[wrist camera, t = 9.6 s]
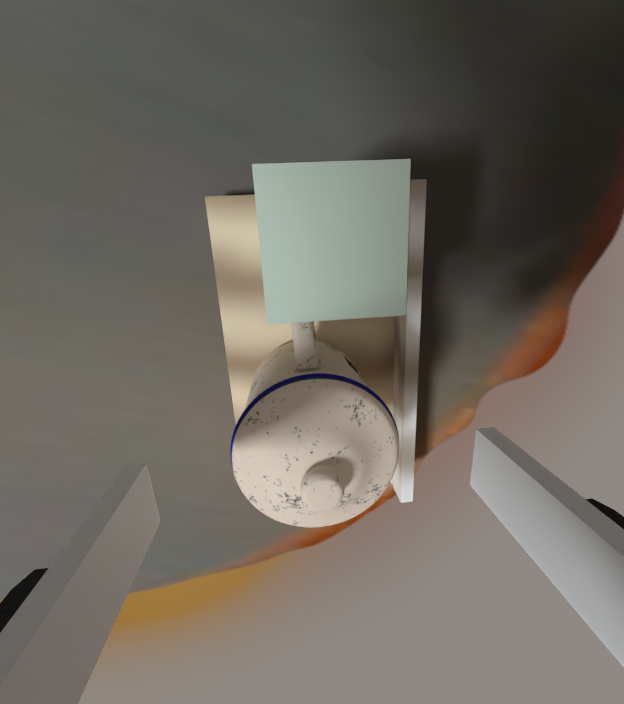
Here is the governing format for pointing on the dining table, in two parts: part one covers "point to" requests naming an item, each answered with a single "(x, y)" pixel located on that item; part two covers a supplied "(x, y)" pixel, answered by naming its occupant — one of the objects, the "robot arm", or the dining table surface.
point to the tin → (333, 238)
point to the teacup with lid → (313, 436)
